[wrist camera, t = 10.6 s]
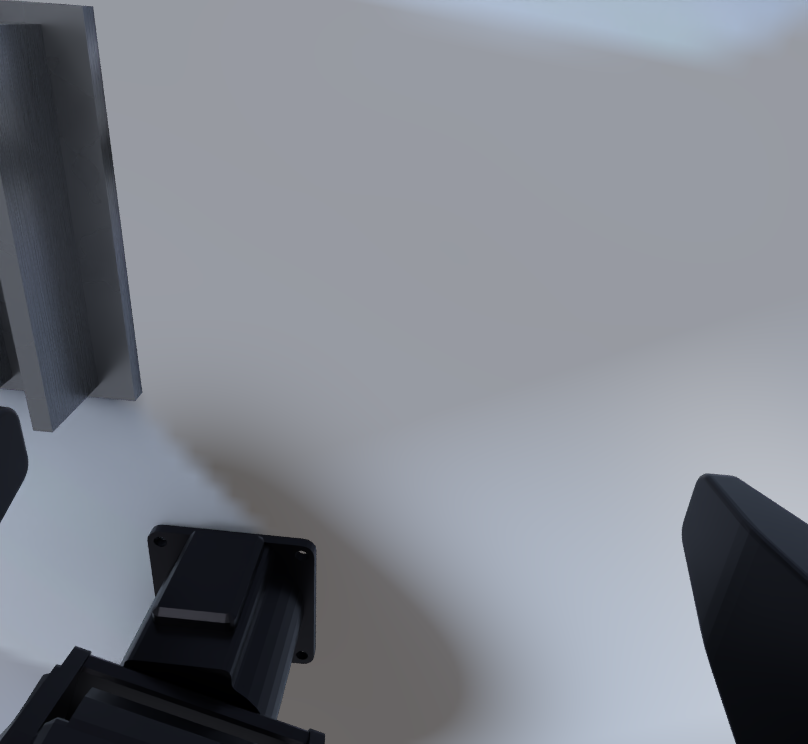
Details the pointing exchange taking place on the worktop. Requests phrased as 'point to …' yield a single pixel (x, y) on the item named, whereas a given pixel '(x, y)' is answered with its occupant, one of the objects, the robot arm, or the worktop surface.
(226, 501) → the worktop surface
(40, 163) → the offcut rack
